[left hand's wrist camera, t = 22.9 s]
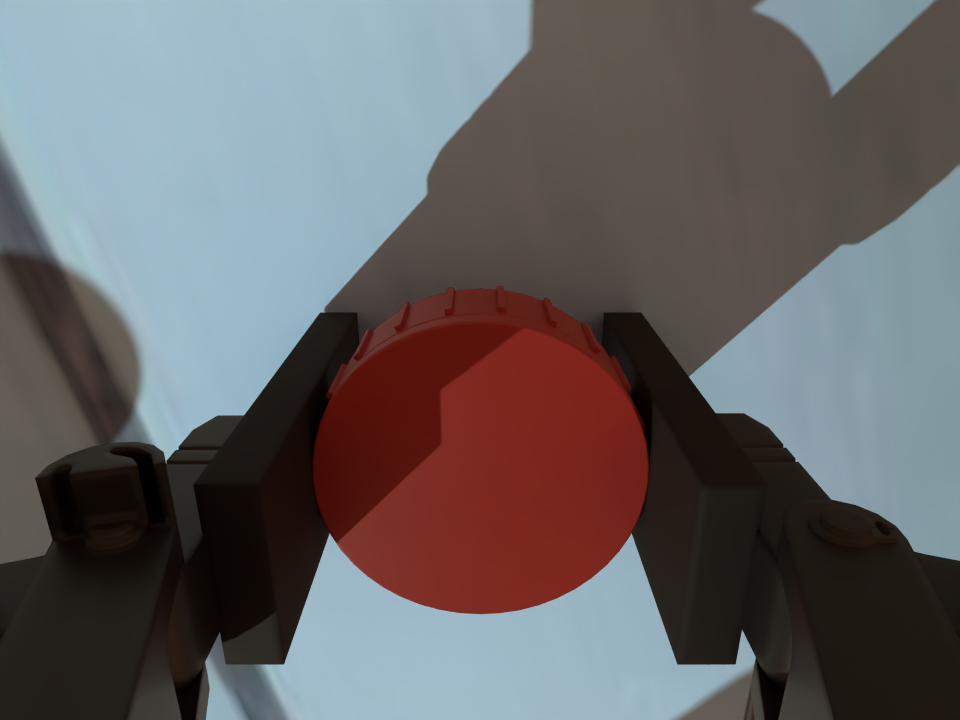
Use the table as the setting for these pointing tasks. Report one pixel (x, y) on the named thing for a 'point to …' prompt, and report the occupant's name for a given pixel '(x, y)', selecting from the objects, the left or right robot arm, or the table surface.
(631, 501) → the lid
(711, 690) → the table surface
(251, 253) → the table surface
